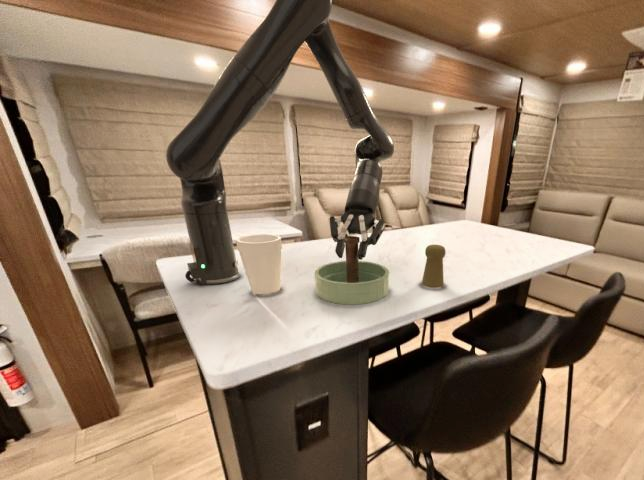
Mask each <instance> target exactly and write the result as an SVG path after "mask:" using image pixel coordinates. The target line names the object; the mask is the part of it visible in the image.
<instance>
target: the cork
mask: <svg viewBox="0 0 644 480" xmlns="http://www.w3.org/2000/svg"><path fill="white" fill-rule="evenodd" d="M424 254H425V258H426V261H425V266H424V270H423V275H422V279H421V284H422V286H424V287H427V288H431V289H434V288H435V289H436V288H437V289H439V288H442V289H444V287H445V286H444V285H445V283H444V281H445V280H444V258H445V256H446V248H445V247H444V246H443V245H441V244H429V245H427V246H426V248H425V250H424Z"/></svg>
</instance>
